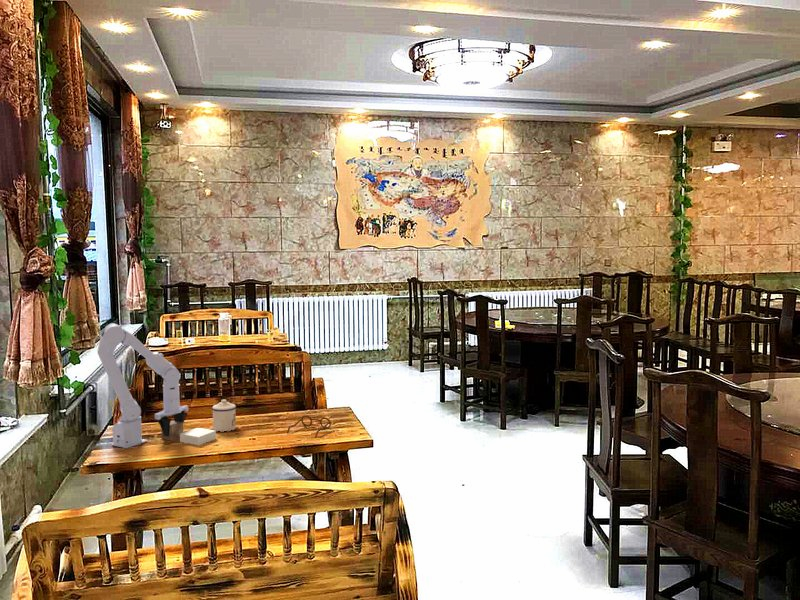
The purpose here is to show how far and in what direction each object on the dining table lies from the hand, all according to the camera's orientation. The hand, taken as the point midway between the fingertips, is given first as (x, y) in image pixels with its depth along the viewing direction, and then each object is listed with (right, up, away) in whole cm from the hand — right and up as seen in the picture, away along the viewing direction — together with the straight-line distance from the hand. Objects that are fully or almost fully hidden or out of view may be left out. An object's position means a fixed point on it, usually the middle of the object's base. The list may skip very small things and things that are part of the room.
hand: (172, 433), depth 248 cm
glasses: (+50, -2, +9) cm, 51 cm away
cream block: (+11, -2, -3) cm, 11 cm away
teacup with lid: (+16, -1, +13) cm, 21 cm away
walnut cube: (0, -1, 0) cm, 1 cm away
